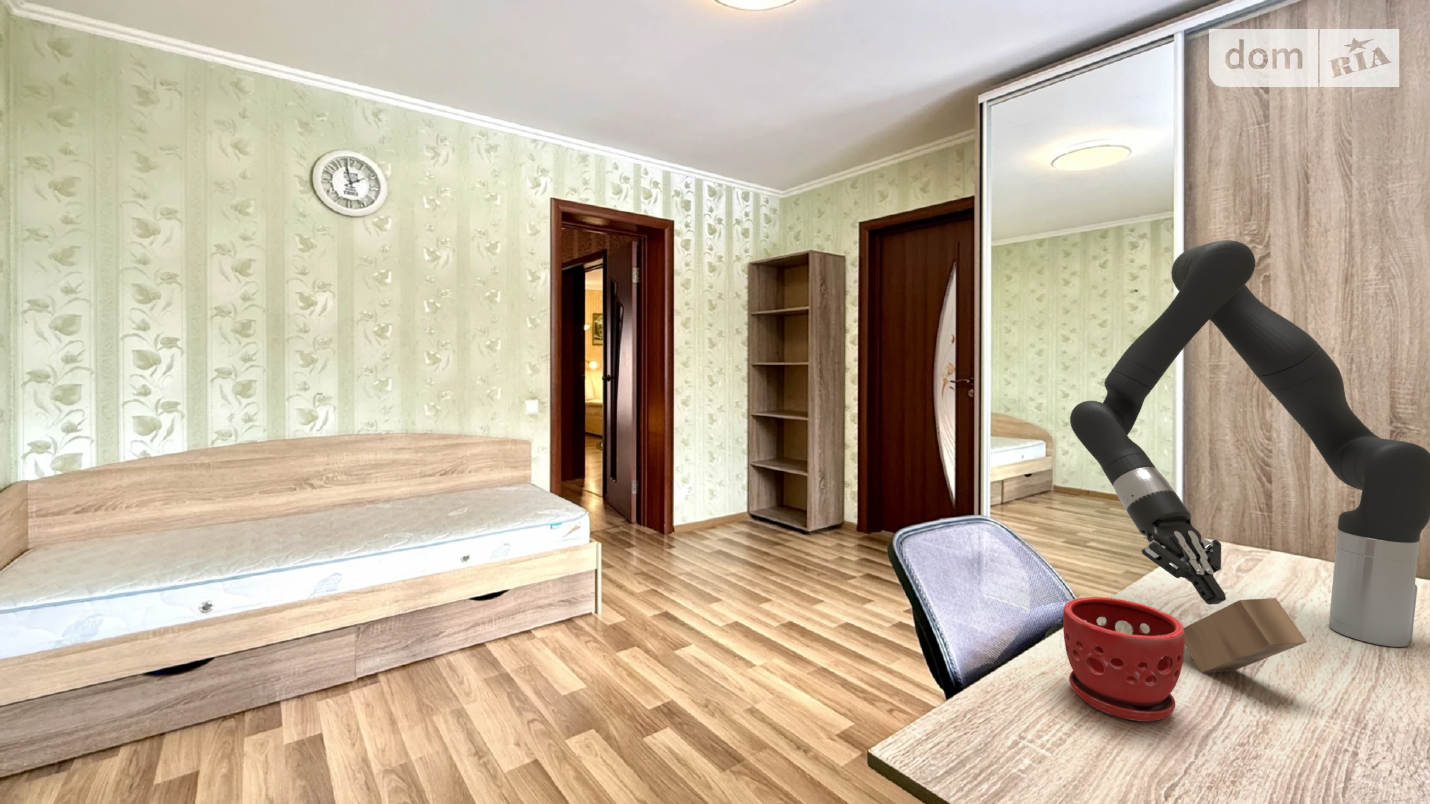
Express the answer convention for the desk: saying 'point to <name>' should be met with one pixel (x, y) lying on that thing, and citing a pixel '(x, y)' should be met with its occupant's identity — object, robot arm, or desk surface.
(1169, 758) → the desk surface
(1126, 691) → the plant pot
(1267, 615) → the walnut block
